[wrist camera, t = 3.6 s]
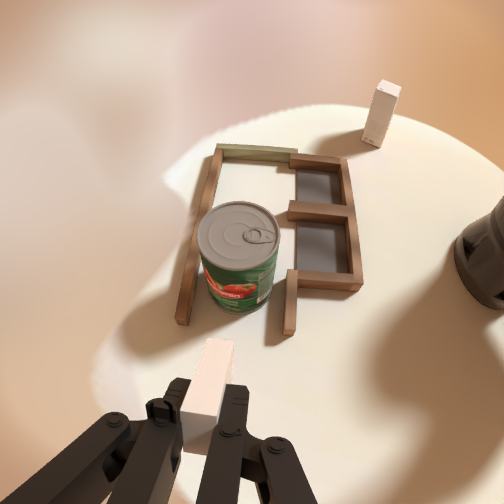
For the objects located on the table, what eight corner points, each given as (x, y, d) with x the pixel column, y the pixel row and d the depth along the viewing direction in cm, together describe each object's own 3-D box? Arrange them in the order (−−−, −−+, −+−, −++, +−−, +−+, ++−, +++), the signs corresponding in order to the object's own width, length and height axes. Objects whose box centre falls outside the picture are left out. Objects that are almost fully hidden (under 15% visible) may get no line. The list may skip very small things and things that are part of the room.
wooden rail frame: (360, 338, 35) (366, 332, 33) (178, 324, 35) (174, 317, 34) (343, 164, 51) (345, 154, 49) (217, 153, 52) (216, 143, 50)
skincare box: (380, 149, 54) (397, 97, 44) (360, 140, 55) (374, 88, 45) (386, 134, 56) (402, 86, 46) (367, 126, 58) (381, 78, 48)
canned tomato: (203, 310, 36) (187, 264, 27) (214, 254, 41) (204, 197, 31) (269, 318, 36) (277, 273, 27) (275, 260, 40) (282, 204, 31)
